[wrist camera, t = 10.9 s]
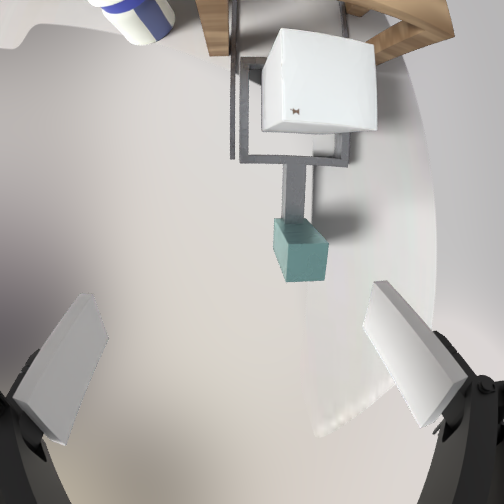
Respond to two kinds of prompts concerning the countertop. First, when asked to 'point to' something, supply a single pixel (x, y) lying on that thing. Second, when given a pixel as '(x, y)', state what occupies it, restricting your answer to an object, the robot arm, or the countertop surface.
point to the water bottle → (139, 18)
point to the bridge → (356, 3)
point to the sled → (291, 195)
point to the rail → (233, 58)
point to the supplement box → (318, 84)
